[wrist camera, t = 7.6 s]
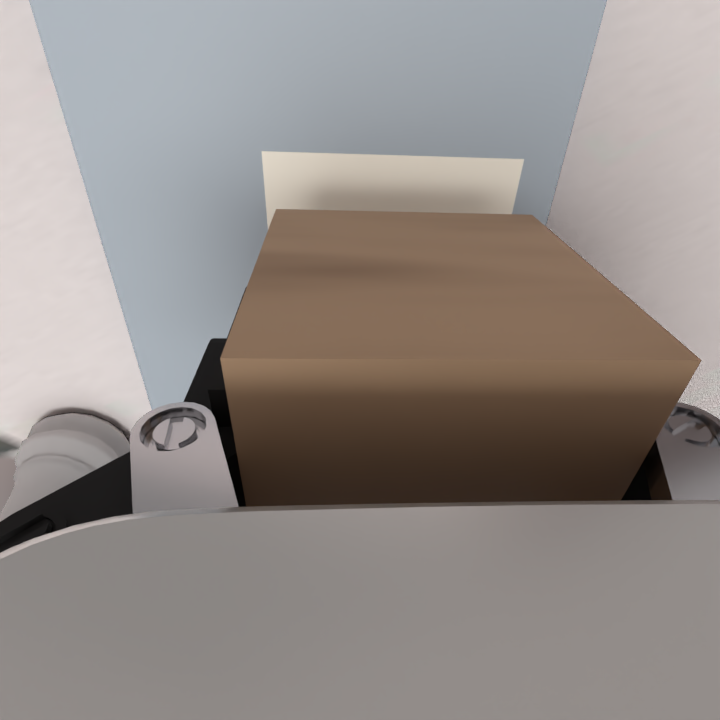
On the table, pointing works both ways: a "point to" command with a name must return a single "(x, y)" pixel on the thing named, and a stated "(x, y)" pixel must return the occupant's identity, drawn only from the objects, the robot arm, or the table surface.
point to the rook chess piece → (61, 456)
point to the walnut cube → (440, 364)
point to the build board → (297, 131)
